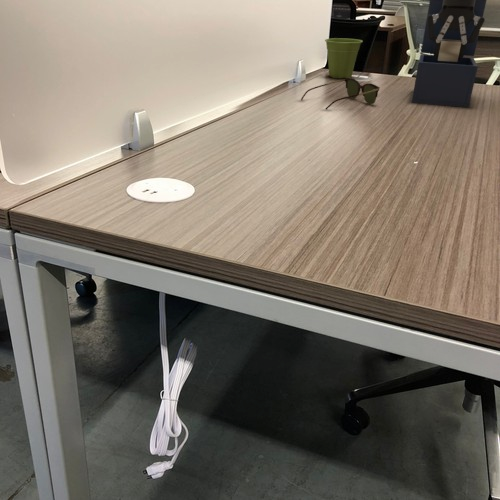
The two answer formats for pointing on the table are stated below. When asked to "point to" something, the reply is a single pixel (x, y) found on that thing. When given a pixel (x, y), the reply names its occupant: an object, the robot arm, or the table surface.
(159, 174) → the table surface
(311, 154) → the table surface
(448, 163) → the table surface
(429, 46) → the lid
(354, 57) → the plant pot
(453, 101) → the chest
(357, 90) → the sunglasses
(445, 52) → the block
